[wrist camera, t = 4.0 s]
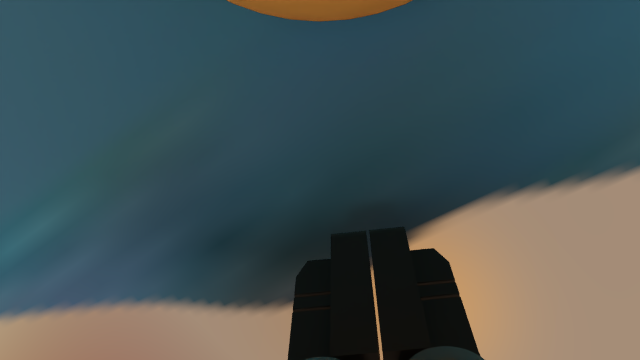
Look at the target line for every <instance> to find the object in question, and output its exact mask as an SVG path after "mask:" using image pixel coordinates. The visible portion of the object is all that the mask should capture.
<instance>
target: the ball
mask: <svg viewBox="0 0 640 360" xmlns="http://www.w3.org/2000/svg"><path fill="white" fill-rule="evenodd" d="M227 1H229V2H231V3H233V4H236V5H239V6H242V7H244V8H247V9H250V10H253V11H256V12H259V13H262V14H267V15H271V16H276V17H281V18H286V19H292V20H306V21H333V20H348V19H353V18H358V17H363V16H368V15H373V14H378V13H381V12H383V11H386V10H389V9H392V8H395V7H398V6H401V5H404V4H406V3H408V2H410V1H412V0H227Z"/></svg>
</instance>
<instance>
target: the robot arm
mask: <svg viewBox="0 0 640 360" xmlns="http://www.w3.org/2000/svg"><path fill="white" fill-rule="evenodd" d="M369 233H370V242H371V252H372V261H373V270H374V279H375V288H376V296H377V306H378V315H379V324H380V333H381V342H382V351H383V360H484V359H483V358H482V357H481V356H480V354H479V352H478V349H477V346H476V343H475V340H474V337H473V333H472V330H471V327H470V324H469V321H468V319H467V315H466V312H465V309H464V306H463V303H462V300H461V297H460V296H459V291H458V288H457V285H456V283H455V279H454V276H453V273H452V270H451V267H450V264H449V262H448V261H447V260H446V259H445V258H444V257H443V256H442V255H440V254H439V253H438V252H437V251H436V250H435V249H433V248H432V249H421V250H411V251H410V249H409V245H408V240H407V236H406V231H405V228H404V227H396V228H387V229H377V230H369ZM294 295H295V298H294V304H293V313H292V323H291V333H290V344H289V352H288V360H380V354H379V345H378V335H377V325H376V316H375V307H374V297H373V288H372V279H371V270H370V261H369V253H368V244H367V235H366V231H359V232H349V233H339V234H331V259H322V260H312V261H307V263H306V264H305V266H304V267H303V268H302V270H301V271H300V272H299V274H298V275H297V277H296V284H295V294H294Z"/></svg>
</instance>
